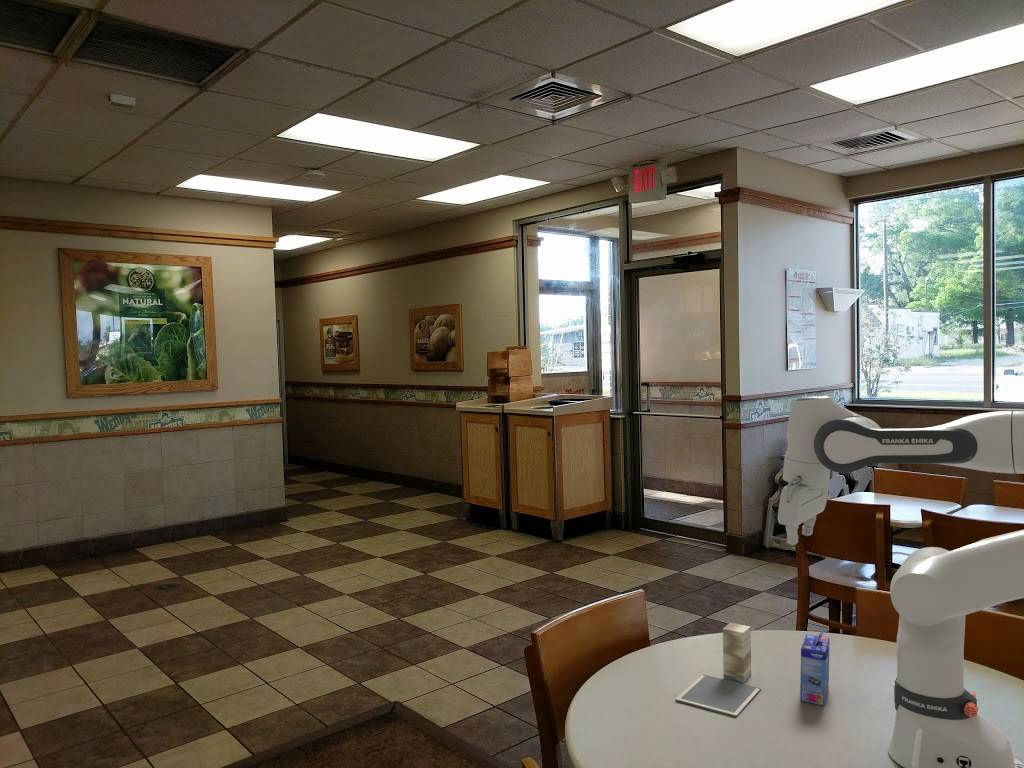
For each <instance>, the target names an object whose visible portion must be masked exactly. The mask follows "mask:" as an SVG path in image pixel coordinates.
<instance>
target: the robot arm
mask: <svg viewBox="0 0 1024 768" xmlns="http://www.w3.org/2000/svg"><path fill="white" fill-rule="evenodd" d="M786 439H787V448H786V451H785V453H784V459H783V471H782V480H784V481H785V482H786V483H787V482H788V484H787V485H785V486H784V487H783V488H782V490H781V493H780V497H779V504H778V512H777V521H778V524H780V525H783V526H785V531H786V543H787V544H788V545H791V546H795V545H797V544H798V543H799V535H798V529H799V526H800V525H801V524H802V523H803V525H802V527H801V535H803V536H806V537H809V536H811V535H813V530H814V526H815V523H816V520H817V515H819V514H820V513H822V512H824V510H825V508H826V506H827V501H828V496H829V490H830V481H832V480H833V478H834V472H835V473H840V474H848V473H849V474H850V473H855V472H856V471H859V470H860V469H864V468H866V467H869V466H871V465H878V464H879V465H880V464H927V465H928V464H929V465H930V464H931V465H932V464H935V465H943V466H950V467H958V468H962V469H963V468H964V469H968V470H975V471H980V472H981V471H982V472H988V473H998V474H999V473H1000V474H1020V475H1021V474H1024V410H1000V411H999V410H998V411H989V412H982V413H976V414H971V415H966V416H964V417H961V418H958V419H956V420H953V421H950V422H947V423H944V424H941V425H940V424H939V425H935V426H931V427H930V426H929V427H923V428H922V427H921V428H920V427H919V428H918V427H917V428H914V427H913V428H882V427H881V425H879V423H877V422H876V421H875V420H873V419H871V418H868V417H865V416H863V415H861V414H858V413H856V412H853V411H852V410H849V409H847V408H846V407H844V406H843V405H842V404H840V403H839V402H837V401H836V400H835V399H834V398H833V397H832V396H829V395H813V396H803V397H800V398H798V399H796V400H795V401H794V402H793V403H792V405H791V408H790V411H789V416H788V421H787V428H786ZM889 587H890V588H889V589H890V592H889V593H890V598H891V599H890V600H891V603H892V605H893V607H894V610H895V611H896V612H897V613H898V614H899V620H898V629H897V635H896V678H895V680H894V684H893V704H894V709H895V718H894V725H893V732H892V736H891V739H890V742H889V746H888V748H887V749H888V750H887V751H888V754H889V756H890V758H891V759H892V760H893V761H895V762H896V763H897V764H898V765H900V766H901V767H903V768H1024V763H1023V762H1022V761H1020V760H1019V759H1017V758H1015V757H1014V752H1013V749H1012V746H1011V744H1010V742H1009V739H1008V737H1007V736H1006V734H1004V732H1002V730H999V728H997V727H996V726H995V725H994V724H992V723H991V722H989V721H988V720H987V719H986V718H985V717H983V715H981V714H980V713H979V707H978V699H977V695H976V692H975V691H973V693H971V692H970V691H968V690H967V689H966V688H965V684H964V683H965V677H964V676H965V675H964V673H965V668H964V667H965V666H964V664H965V663H964V662H965V660H964V659H965V658H964V655H965V653H964V651H965V649H964V648H965V634H966V632H965V631H966V630H965V629H966V615H970V614H972V613H977V612H980V611H983V610H986V609H988V608H991V607H994V606H997V605H1001V604H1004V603H1007V602H1012V601H1016V600H1021V599H1024V529H1021V530H1016V531H1011V532H1008V533H1003V534H999V535H996V536H995V535H994V536H990V537H988V538H983V539H980V540H978V541H976V542H973V543H971V544H967V545H965V546H964V545H963V546H962V547H960V548H957V549H953V550H947V549H945V548H943V547H937V546H929V547H922V548H918V549H916V550H914V551H913V552H911V553H910V554H909V555H908V556H907V557H906V558H905V560H904V561H903V563H902V564H901V565H900V566H899V568H898V569H897V570H896V572H895V573H894V575H893V576H892V579H891V581H890V586H889Z"/></svg>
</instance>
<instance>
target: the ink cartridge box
mask: <svg viewBox="0 0 1024 768" xmlns="http://www.w3.org/2000/svg"><path fill="white" fill-rule="evenodd" d="M823 634H824V630H822V631H821V632H819V634H818V635H814V634H807V633H806V634H805V637H804V640H803V643H802V645H801V648H800V673H799V674H800V684H799V686H800V687H799V688H800V689H799V690H800V691H799V695H800V696H799V700H800V702H805V703H810V704H815V705H818V706H825V705H826V702H827V698H828V695H829V691H830V690H829V689H830V688H829V687H830V686H829V683H830V682H829V681H830V638H829V637H825V636H823Z"/></svg>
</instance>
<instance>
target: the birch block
mask: <svg viewBox="0 0 1024 768" xmlns="http://www.w3.org/2000/svg"><path fill="white" fill-rule="evenodd" d="M751 633H752V631H751V626H750V625H744V624H739V623H735V622H729V623H728V624H727V625H726V626H724V627H723V628H722V661H723V662H722V663H723V665H722V667H723V669H722V671H723V674H722V675H723V679H724V680H729V681H733V680H734V681H733V682H737V681H738V682H737V683H741V682H743V683H742V684H744V682H745V681H746V680H747V679H748V678H749V677H750V676H751V677H752V640H751V639H752V636H751ZM751 677H750V678H751ZM750 678H749V679H750ZM749 679H748V680H749ZM748 680H747V681H748ZM747 681H746V682H747ZM746 682H745V683H746Z"/></svg>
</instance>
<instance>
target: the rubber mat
mask: <svg viewBox="0 0 1024 768" xmlns="http://www.w3.org/2000/svg"><path fill="white" fill-rule="evenodd" d="M761 691H762V688H761V687H757V686H753V685H749V684H744V683H741V682H737V681H733V680H729V679H725V678H720V677H716V676H712V675H708V674H701V676H699V677H698V678H697V679H696V680H695V681H694V682H692V683H691V684H690V685H689V686H688V687H687V688H686V689H685V690H683V691H682V693H680V694H679V695H678V696H677V697H676V698H675V699H674V701H675V702H678V703H680V704H681V703H682V704H684V705H688V706H692V707H696V708H700V709H703V710H707V711H711V712H715V713H718V714H722V715H726V716H729V717H734V718H738V717H739V716H740V715H741V713H742V712H743V711H744V710H745V708H747V706H748V705H749V704H750V703H751V702H752V701H753V700H754V699H755V698H756V697H757V695H758V694H759V693H760V692H761Z"/></svg>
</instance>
